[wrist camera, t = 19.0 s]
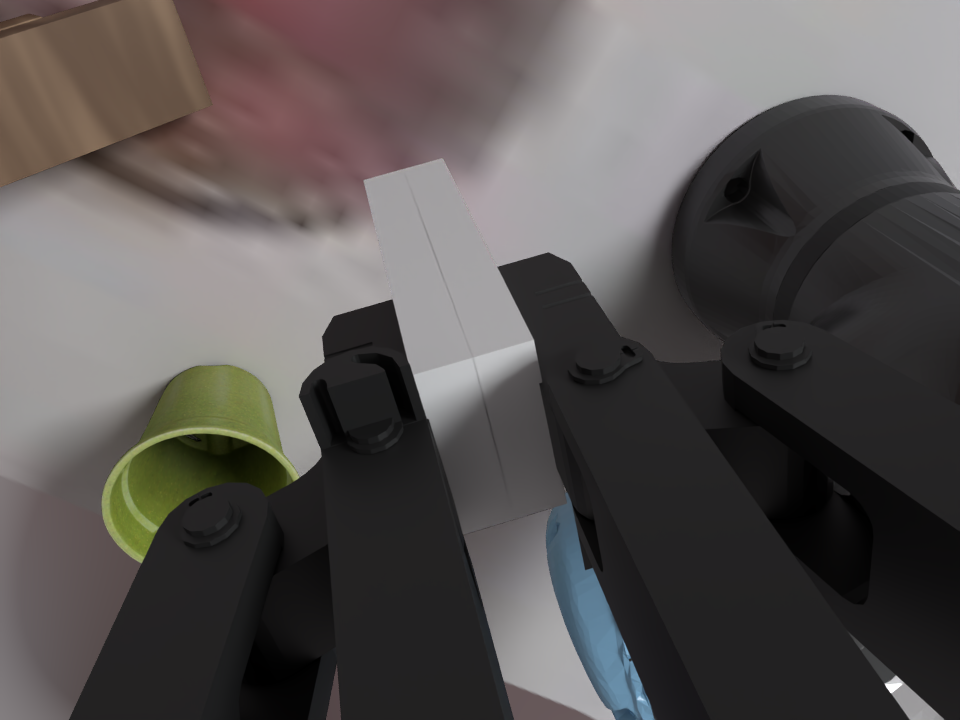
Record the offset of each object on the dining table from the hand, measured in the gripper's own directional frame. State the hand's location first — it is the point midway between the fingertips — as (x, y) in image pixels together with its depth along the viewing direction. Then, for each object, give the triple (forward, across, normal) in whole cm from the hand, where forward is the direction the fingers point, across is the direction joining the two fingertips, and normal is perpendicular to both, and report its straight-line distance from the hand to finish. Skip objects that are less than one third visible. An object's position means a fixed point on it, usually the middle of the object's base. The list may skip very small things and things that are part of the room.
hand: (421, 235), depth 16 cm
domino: (+26, +7, 0) cm, 26 cm away
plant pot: (+27, +13, +19) cm, 35 cm away
